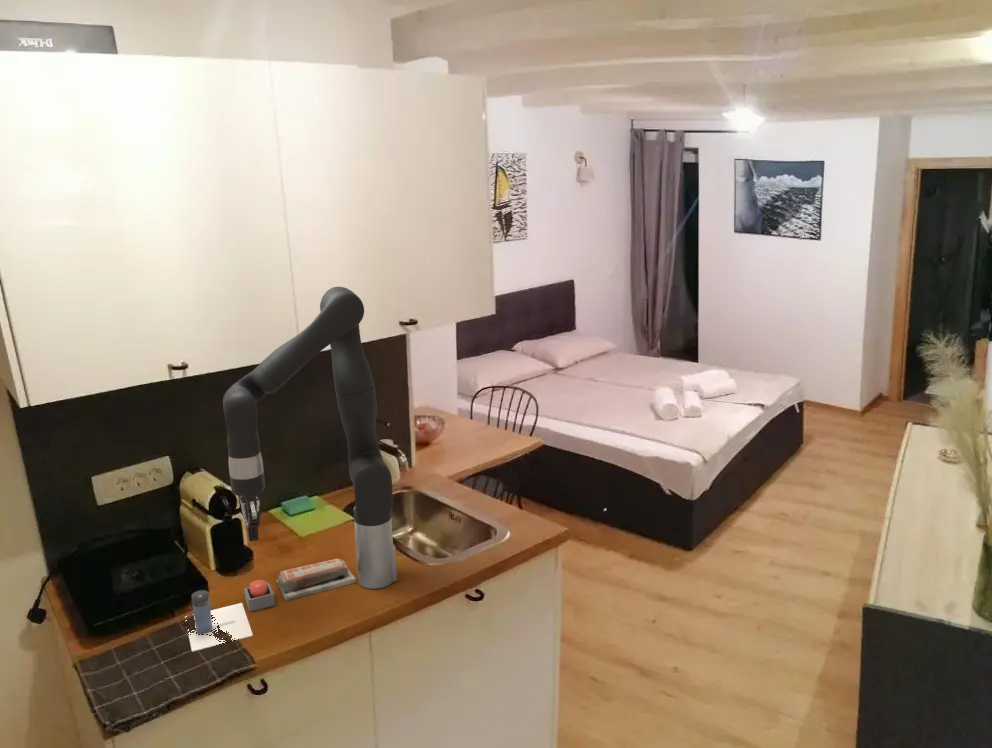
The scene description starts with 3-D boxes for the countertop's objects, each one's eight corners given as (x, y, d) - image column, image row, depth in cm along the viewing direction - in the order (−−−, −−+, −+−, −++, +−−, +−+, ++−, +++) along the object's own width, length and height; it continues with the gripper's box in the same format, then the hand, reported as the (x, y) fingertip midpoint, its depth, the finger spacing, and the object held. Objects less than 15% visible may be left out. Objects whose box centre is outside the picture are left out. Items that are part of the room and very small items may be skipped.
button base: (270, 593, 195) (269, 582, 194) (275, 605, 190) (273, 594, 189) (245, 599, 192) (244, 588, 191) (249, 611, 187) (248, 600, 186)
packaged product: (283, 585, 190) (274, 567, 199) (285, 602, 191) (276, 584, 200) (355, 567, 198) (343, 550, 207) (356, 584, 199) (345, 566, 208)
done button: (266, 589, 193) (265, 578, 192) (269, 597, 189) (268, 585, 189) (249, 593, 191) (248, 582, 190) (252, 601, 188) (251, 590, 187)
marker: (211, 623, 182) (207, 588, 180) (213, 631, 179) (209, 596, 177) (195, 627, 181) (190, 592, 178) (196, 635, 178) (192, 600, 175)
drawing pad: (242, 603, 190) (241, 602, 190) (252, 635, 177) (252, 635, 177) (185, 617, 185) (184, 616, 185) (192, 652, 172) (191, 651, 172)
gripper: (268, 478, 178) (275, 547, 182) (257, 459, 189) (264, 524, 194) (234, 484, 174) (241, 555, 179) (225, 464, 186) (232, 531, 190)
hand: (253, 539), depth 186 cm, fingers closed
